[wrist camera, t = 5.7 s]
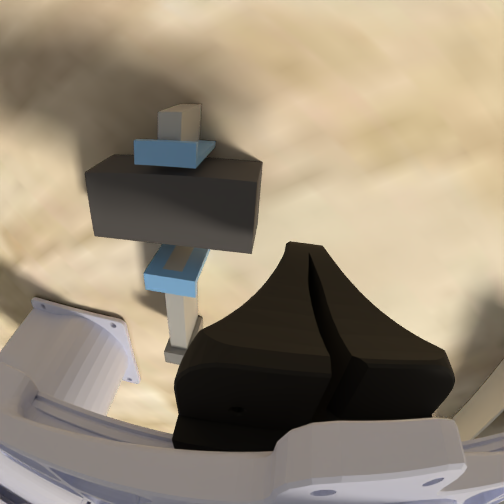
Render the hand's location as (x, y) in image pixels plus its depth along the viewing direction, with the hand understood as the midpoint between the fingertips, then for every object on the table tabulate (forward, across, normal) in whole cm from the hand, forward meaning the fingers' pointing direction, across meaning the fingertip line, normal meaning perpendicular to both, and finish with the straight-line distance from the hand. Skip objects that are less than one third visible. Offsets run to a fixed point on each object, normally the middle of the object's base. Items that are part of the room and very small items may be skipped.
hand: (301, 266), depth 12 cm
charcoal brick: (+6, +6, 0) cm, 8 cm away
